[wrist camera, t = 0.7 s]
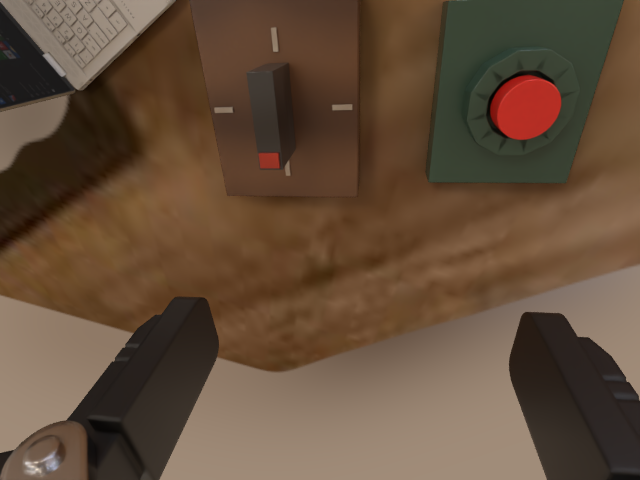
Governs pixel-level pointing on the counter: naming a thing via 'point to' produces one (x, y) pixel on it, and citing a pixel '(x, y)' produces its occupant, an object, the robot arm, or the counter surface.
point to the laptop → (64, 43)
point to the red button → (525, 107)
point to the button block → (503, 65)
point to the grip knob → (272, 114)
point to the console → (306, 90)
